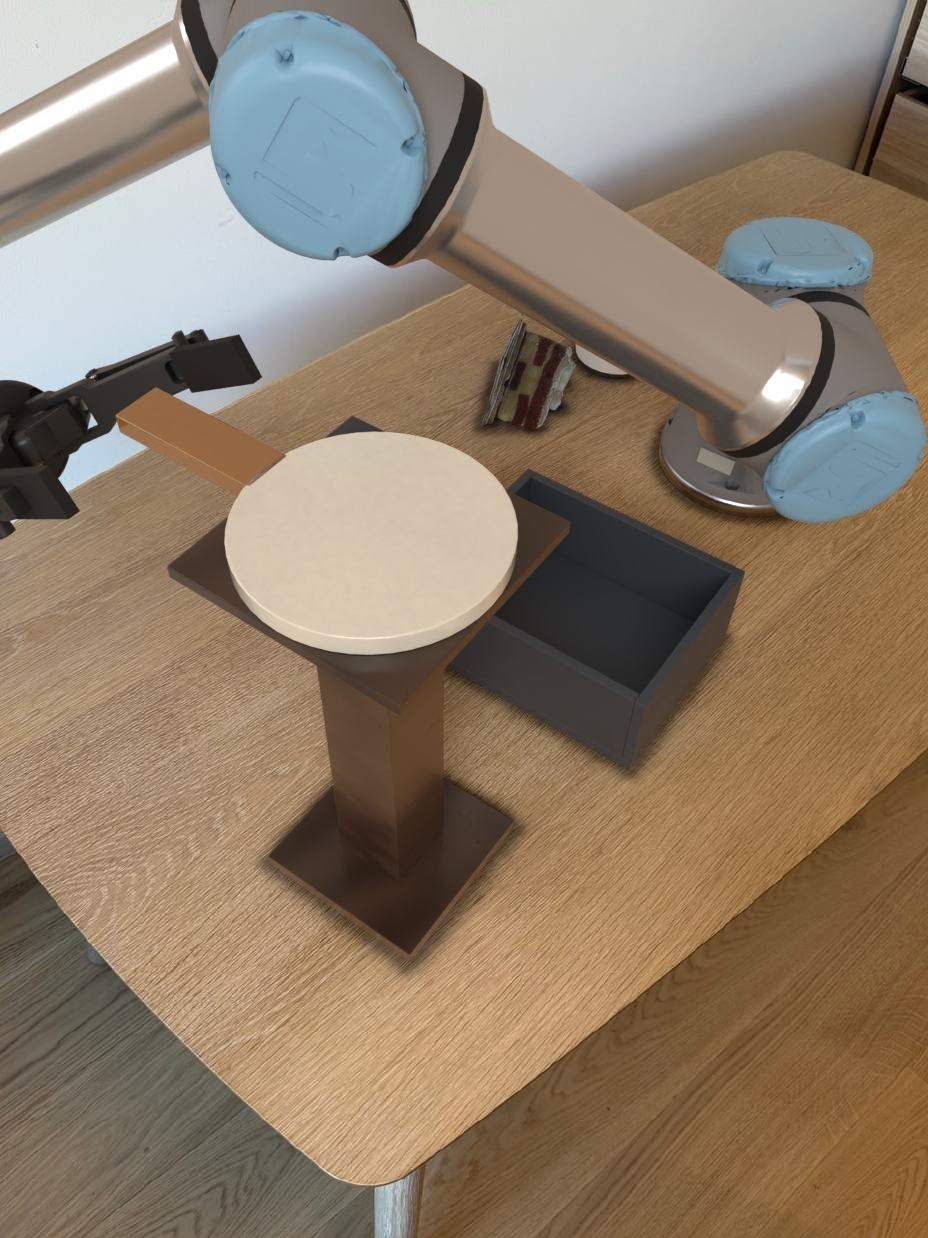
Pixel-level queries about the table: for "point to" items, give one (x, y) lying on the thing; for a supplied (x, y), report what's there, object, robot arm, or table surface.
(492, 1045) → the table surface
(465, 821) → the stand
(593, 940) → the table surface
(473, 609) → the round paddle with handle
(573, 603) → the tub
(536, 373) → the chocolate cake
